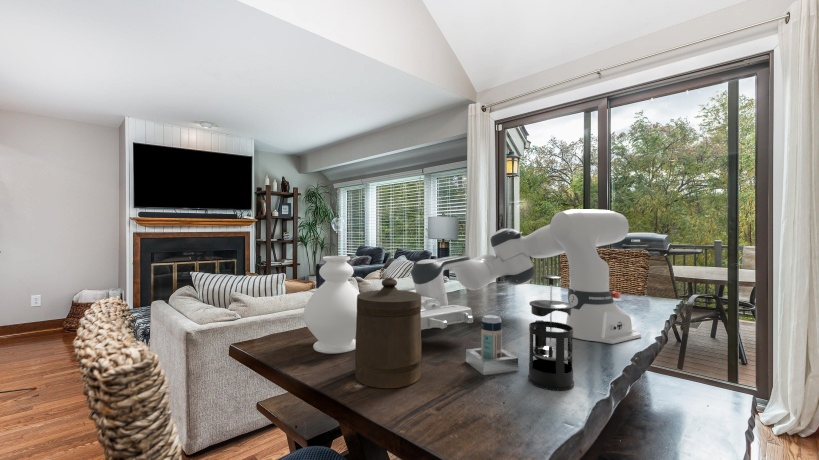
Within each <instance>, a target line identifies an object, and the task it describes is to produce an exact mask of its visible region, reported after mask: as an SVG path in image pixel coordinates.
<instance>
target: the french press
mask: <svg viewBox="0 0 819 460" xmlns="http://www.w3.org/2000/svg"><path fill="white" fill-rule="evenodd" d="M540 278H541V279H545V280H548V285H549V286H550V287H549V288H550V290H549V291H550V292H549V294H550V296H549V297H550V299H539V300H538V299H537V300H536V299H535V300H532V301H529V305H530V306H531V311H530V312H531V314H532V315H534V316H537V317H546V316H548V315H549V321H548V320H547V321H546V320H545V321H544V320H542V319H541V320H537V319H536V320H535V321H533V322H530V323H529V324H528V331H529V339H528V340H529V344H528V345H529V351H528V352H529V353H528V354H529V358H528V360H529V361H528V375H527V380H528V382H529V383H530V384H531V385H533V386H535V387H537V388H540V389H544V390H547V391H555V392H557V391H558V392H561V391H562V392H564V391H569V390H572V389H573V388H574V387H575V381H574V368H573V337H572V336H573V327H571V326H569V325H567V324H566V323H561V322H557V321H552V320H553V312H561V313H565V314H568V315H569V316H571V309H573V307H574V306H573V305H572V304H570V303H569V302H565V301H560V300H553V286H554V280H561V279H562V277H561V276H558V275H549V274H547V275H542V276H540ZM547 328H549V331H548V330H547ZM553 329H559V330H563V331H552V330H553ZM564 330H566V331H567V332H564ZM547 339H549V345H547ZM553 339H555V346H553V343H552V340H553ZM565 339H567V349H566V348H565ZM534 358H535V359H534ZM566 361H567V363H566Z"/></svg>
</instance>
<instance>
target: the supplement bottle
mask: <svg viewBox="0 0 819 460" xmlns="http://www.w3.org/2000/svg"><path fill="white" fill-rule="evenodd" d="M502 323H503V322H502V318H501V316H499V315H497V314H491V313H490V314H484V315H483V316H482V318H481V322H480V324H481V325H480V328H481V329H480V330H481V331H480V336H481V337H480V339H481V340H480V342H481V343H480V348H481V356H482V357H484V358H485V359H493V358H501V348H502V343H503V342H502V340H503V339H502V336H503V334H502V333H503V332H502V330H503V327H502Z"/></svg>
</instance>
